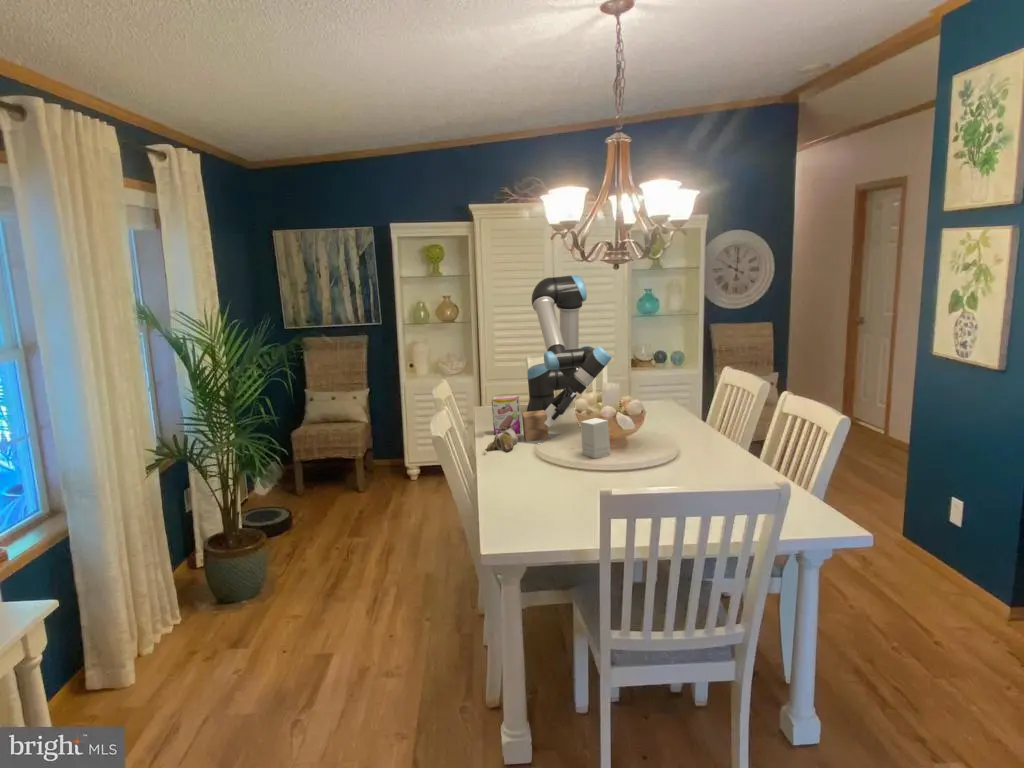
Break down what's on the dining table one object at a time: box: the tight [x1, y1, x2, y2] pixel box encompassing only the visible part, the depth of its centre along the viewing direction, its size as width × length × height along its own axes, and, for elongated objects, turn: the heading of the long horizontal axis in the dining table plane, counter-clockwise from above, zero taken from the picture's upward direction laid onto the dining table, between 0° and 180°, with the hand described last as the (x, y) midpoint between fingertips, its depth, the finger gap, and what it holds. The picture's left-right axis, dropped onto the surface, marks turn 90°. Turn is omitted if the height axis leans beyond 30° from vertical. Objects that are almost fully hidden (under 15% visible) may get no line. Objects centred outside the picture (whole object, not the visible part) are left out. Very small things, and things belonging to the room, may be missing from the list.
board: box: [517, 432, 562, 445], centre depth 277 cm, size 16×14×1 cm
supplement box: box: [580, 417, 611, 459], centre depth 249 cm, size 7×7×13 cm
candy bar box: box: [491, 395, 523, 436], centre depth 288 cm, size 11×5×16 cm, turn 84°
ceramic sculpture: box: [484, 428, 519, 452], centre depth 266 cm, size 11×9×15 cm
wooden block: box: [521, 410, 549, 442], centre depth 276 cm, size 9×9×10 cm
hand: (545, 421), depth 276 cm, fingers open, 13 cm apart
